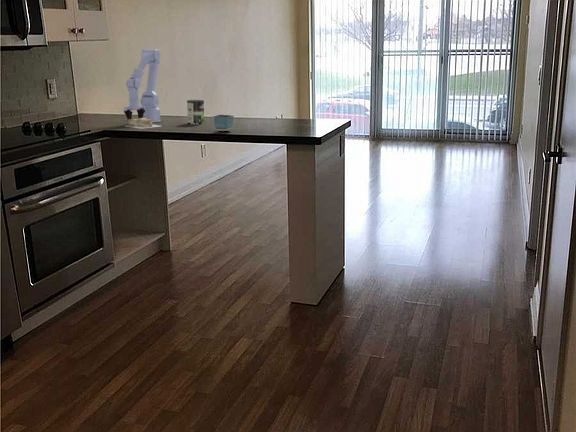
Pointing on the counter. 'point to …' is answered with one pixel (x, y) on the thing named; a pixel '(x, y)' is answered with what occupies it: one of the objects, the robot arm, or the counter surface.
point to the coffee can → (195, 111)
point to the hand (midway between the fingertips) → (135, 122)
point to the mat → (144, 127)
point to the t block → (140, 122)
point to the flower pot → (223, 121)
